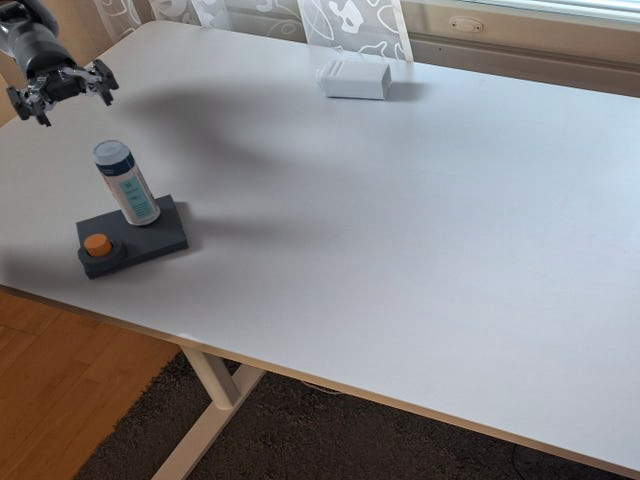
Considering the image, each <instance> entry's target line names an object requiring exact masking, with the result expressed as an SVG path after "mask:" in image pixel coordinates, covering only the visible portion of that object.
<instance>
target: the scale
mask: <svg viewBox="0 0 640 480" xmlns="http://www.w3.org/2000/svg"><path fill="white" fill-rule="evenodd" d="M154 199H155V201H156V203H157V205H158V207H159V209H160V214H159V216H158V218H157V219H155V220H154V221H153V222H151V223H149V224H147V225H132V224H130V223H129V222H128V221H127V219H126V217H125V216H124V214H123V212H122V210H121V209H120V208H119V209H115V210H112V211H110V212H107V213H103V214H100V215H96V216H93V217H90V218H85V219H83V220H80V221H76V222H75V225H76V232H77V237H78V242H79V249H78V250H77V257H78V260H79V261H80V263H81V265H82V266H83V269H84V274H85V275H86V276H87V278H88V279H89V280H93V279H97V278H99V277H102V276H105V275H107V274H110V273H114V272H118V271H121V270H124V269H126V268H129V267H133V266H135V265H138V264H141V263H144V262H148V261H151V260H154V259H157V258H161V257H164V256H167V255H170V254H173V253H177V252H180V251H182V250H184V249H188V248H190V245H189V242H188V238H187V237H186V233H185V230H184V227H183V224H182V221H181V217H180V216H179V213H178V209H177V206H176V204H175V200H174V198H173V197H172V194H166V195H163V196H159V197H157V198H154ZM95 234H103V235H105V236H106V237H107V239H108V241H109V242H110V244H111V245H112V250H111V251H110V252H109V253H107V254H106V255H104V256H100V257H93V256H91V255H90V253H89V252H88V250H87V249H86V247H85V246H84V242H85V240H86V239H87V238H88V237H90V236H92V235H95Z"/></svg>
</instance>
